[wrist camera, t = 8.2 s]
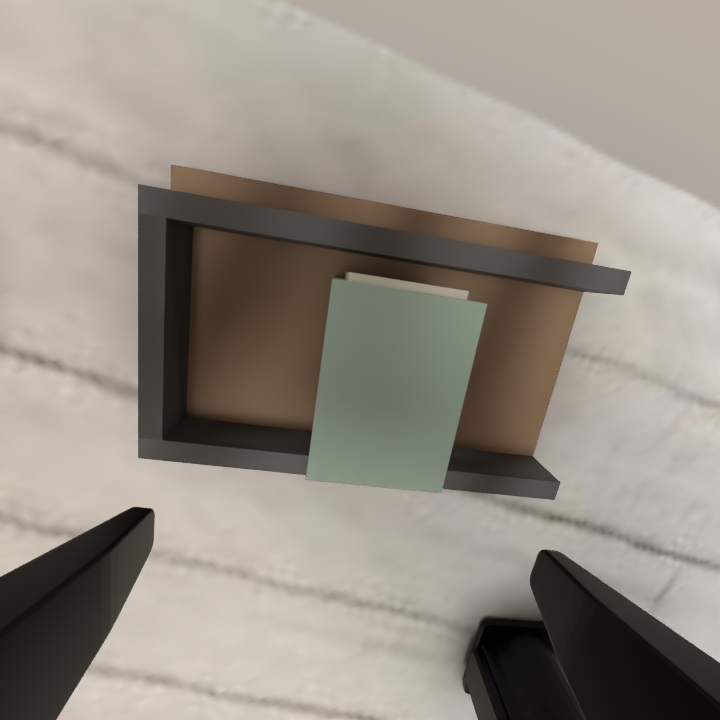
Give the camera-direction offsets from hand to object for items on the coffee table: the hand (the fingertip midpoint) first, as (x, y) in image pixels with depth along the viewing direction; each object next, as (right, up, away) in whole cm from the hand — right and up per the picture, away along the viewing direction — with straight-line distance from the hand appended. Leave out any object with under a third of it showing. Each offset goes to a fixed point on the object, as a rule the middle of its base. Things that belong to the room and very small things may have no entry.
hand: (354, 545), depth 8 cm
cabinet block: (+1, +5, +9) cm, 11 cm away
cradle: (+1, +5, +11) cm, 12 cm away
